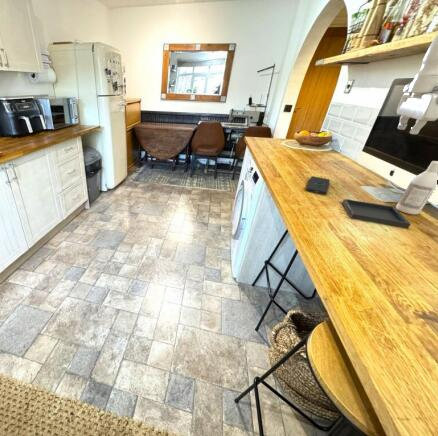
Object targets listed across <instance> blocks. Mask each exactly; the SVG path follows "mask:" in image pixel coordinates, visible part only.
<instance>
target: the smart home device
mask: <svg viewBox="0 0 438 436" xmlns="http://www.w3.org/2000/svg"><path fill="white" fill-rule="evenodd" d="M330 181H331V180H330V179H329V178H325V177H318V176H313V175H312V176H311V177H310V178H309V180H308V183H307V186H306V189H305V191H306V192H309V193H314V194H318V195H323V196H326V195H327V193H328V189H329V186H330Z"/></svg>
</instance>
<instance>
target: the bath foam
mask: <svg viewBox="0 0 438 436" xmlns="http://www.w3.org/2000/svg"><path fill="white" fill-rule="evenodd" d="M437 180H438V160H432V161H431V162H430V164H429V165H428V166H427V168H426V170H425V171H423V172H421V173H419V174H417V175H416V176H415V177H413V178H412V180H411V181H410V183H409V184H408V186H407V187H406V189H405V191H404V192H403V194H402V195H401V198H400V199H399V201H398V203H397V204H396V206H395V208H396V209H397V210H398V211H399V212H400V213H403V214H406V215H407V214H408V215H419V214H420V213H421V212H422V209H423V208H424V207H425V206H426V204H427V203H428V201H429V200H430V198H431V197H432V195H433V194H434V192H435V191H436V189H437V188H436V184H437ZM435 188H436V189H435ZM434 190H435V191H434ZM433 191H434V192H433ZM432 193H433V194H432ZM430 196H431V197H430ZM428 199H429V200H428Z"/></svg>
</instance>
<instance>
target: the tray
mask: <svg viewBox="0 0 438 436" xmlns="http://www.w3.org/2000/svg"><path fill="white" fill-rule="evenodd" d="M341 203H342V206H343V207H344V209H345V210H346V212H347V214H348V216H349V217H350V219H352V220H357V221H362V222H368V223H374V224H378V225H385V226H390V227H397V228H401V229H409V227H410V226H411V225H412V223H411V222H410V221H409V220H408V219H407V218H406V217H405V216H404V215H403V214H402V212H401V211H399V210H397V209H396V206H393V205H387V204H381V203H373V202H368V201H367V202H366V201H361V200H353V199H348V198H343V200H342V202H341Z"/></svg>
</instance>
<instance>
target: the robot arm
mask: <svg viewBox="0 0 438 436" xmlns="http://www.w3.org/2000/svg"><path fill="white" fill-rule="evenodd" d="M421 61H422V62H421V66H420V68H419V70H418V71H417V72H416V74H415V76H414V77H413V80H411V82H409V83H407V84H406V85H405V86H404V88H403V91H402V92H403V94H402V96H401V98H400V101H399V103H398V105H397V108H396V115H400V117H399V122H398V125H397V130H403V131H404V130H406V128H407V127H408V122H409V120H410V118H411V119H415V120H416V121H415V124H414V125H413V126H412V127H411V128H410V130H409V134H410V135H419V133H420V131H421V130H422V128H423V127H424V126H425V125H426V124H427V123H428V122H435V121H436V120H438V33H437V34H436V35H435V37H434V38H433V39H432V41H431V43H430V45H429V46H428V48H427V51H426V52H425V54H424V57H423V59H422V60H421Z"/></svg>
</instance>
